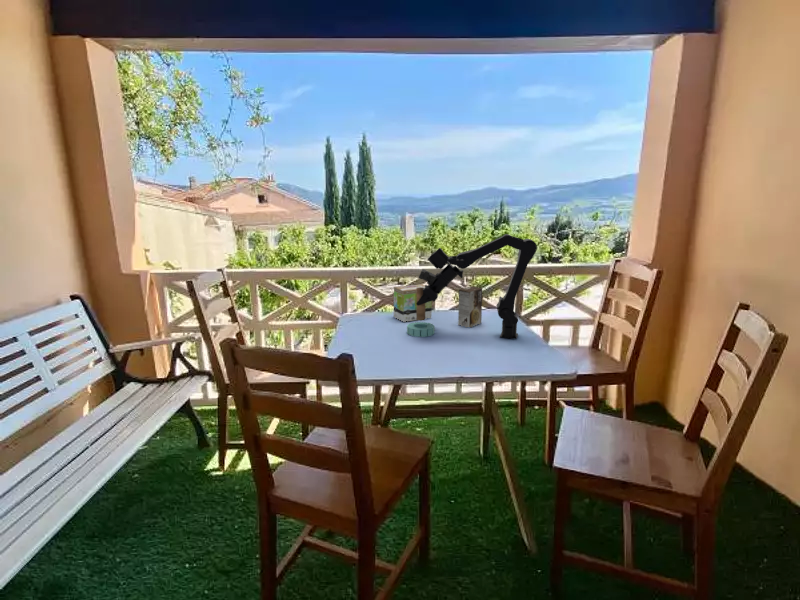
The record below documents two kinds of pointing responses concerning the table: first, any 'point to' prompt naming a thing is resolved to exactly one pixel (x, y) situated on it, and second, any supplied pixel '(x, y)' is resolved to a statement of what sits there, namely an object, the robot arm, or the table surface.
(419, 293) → the walnut peg
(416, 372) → the table surface
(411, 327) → the teal bead
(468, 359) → the table surface
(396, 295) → the tea box
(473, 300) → the coffee box
